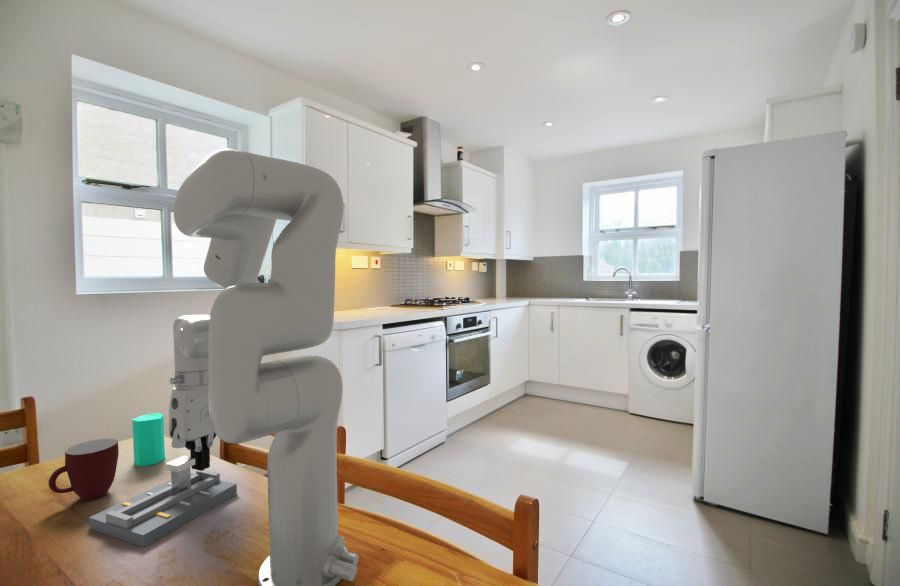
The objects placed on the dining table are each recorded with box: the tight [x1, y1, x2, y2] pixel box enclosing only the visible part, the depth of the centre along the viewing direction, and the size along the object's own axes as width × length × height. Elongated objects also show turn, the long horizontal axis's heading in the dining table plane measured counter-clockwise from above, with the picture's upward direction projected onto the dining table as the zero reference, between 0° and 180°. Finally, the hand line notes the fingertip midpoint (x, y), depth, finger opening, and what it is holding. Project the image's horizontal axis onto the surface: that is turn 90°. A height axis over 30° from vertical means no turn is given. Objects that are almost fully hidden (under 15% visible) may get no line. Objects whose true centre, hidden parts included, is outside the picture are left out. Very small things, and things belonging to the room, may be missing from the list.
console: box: [88, 469, 238, 548], centre depth 80 cm, size 14×18×4 cm
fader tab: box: [165, 455, 195, 494], centre depth 82 cm, size 3×4×6 cm
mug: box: [48, 438, 120, 502], centre depth 84 cm, size 10×8×10 cm
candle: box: [131, 410, 166, 467], centre depth 101 cm, size 6×6×12 cm
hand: (200, 467), depth 86 cm, fingers closed
